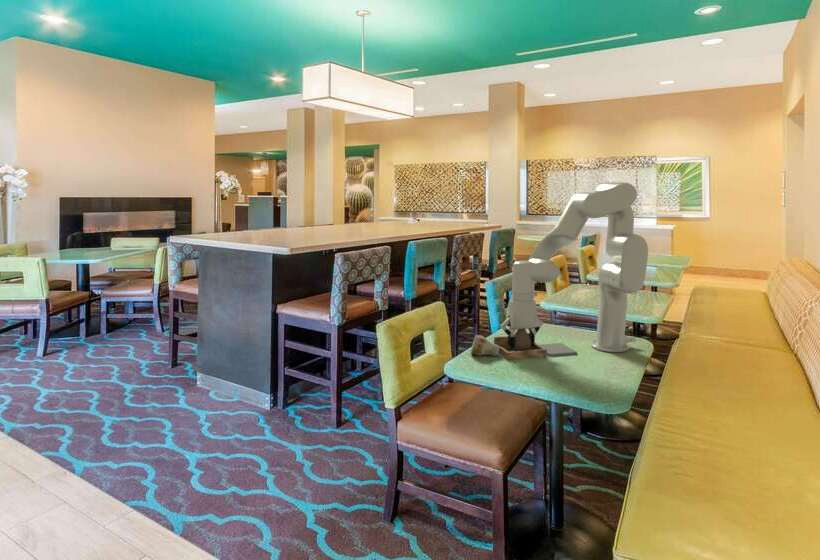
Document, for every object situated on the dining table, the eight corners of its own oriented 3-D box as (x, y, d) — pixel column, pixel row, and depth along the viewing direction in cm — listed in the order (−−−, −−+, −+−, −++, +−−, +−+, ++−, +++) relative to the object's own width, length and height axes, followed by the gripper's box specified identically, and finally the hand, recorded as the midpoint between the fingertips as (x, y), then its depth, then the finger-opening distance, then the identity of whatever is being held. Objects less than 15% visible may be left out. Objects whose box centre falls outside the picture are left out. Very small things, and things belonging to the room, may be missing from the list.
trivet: (560, 345, 196) (560, 342, 196) (577, 354, 186) (577, 351, 186) (533, 347, 194) (534, 344, 194) (549, 356, 183) (549, 354, 183)
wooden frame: (531, 347, 193) (532, 334, 193) (546, 356, 183) (547, 342, 182) (493, 350, 190) (494, 336, 189) (506, 359, 179) (507, 345, 178)
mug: (502, 359, 181) (489, 336, 178) (476, 368, 184) (463, 346, 181) (502, 348, 187) (490, 325, 184) (477, 357, 191) (465, 335, 188)
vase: (518, 356, 182) (518, 332, 180) (507, 350, 188) (507, 327, 187) (534, 354, 184) (535, 329, 183) (523, 348, 191) (524, 325, 189)
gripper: (540, 292, 188) (538, 340, 192) (495, 295, 184) (494, 344, 187) (550, 297, 181) (548, 346, 185) (504, 300, 177) (502, 351, 180)
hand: (521, 345), depth 186 cm, fingers closed on vase, 6 cm apart
